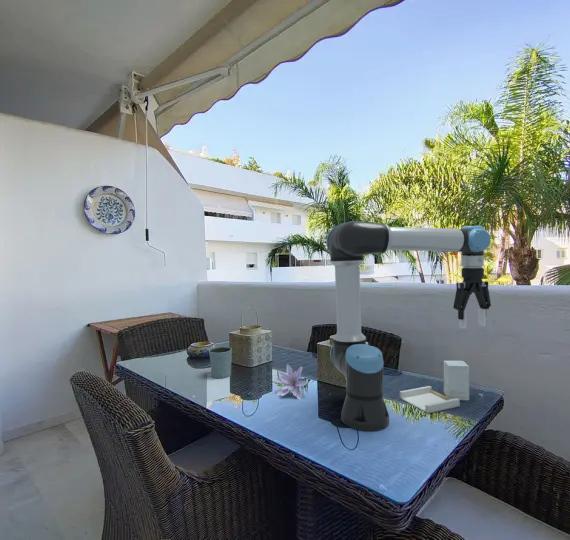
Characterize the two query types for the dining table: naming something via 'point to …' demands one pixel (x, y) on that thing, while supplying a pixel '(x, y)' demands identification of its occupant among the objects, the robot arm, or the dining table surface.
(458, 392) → the supplement box
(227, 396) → the dining table surface
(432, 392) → the stop batten
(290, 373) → the water lily
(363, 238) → the robot arm
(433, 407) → the cradle
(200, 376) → the dining table surface
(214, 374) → the grey-green cup
